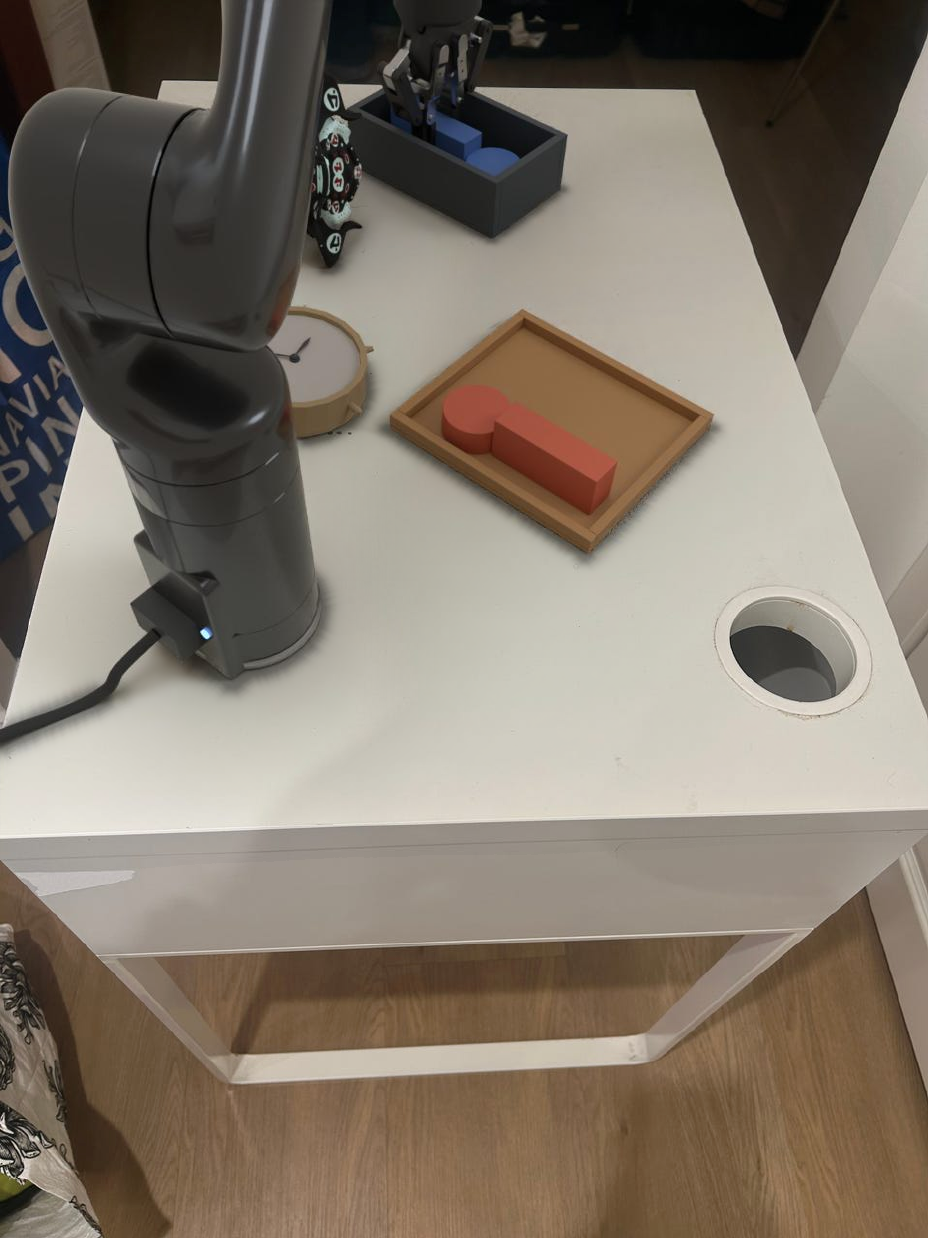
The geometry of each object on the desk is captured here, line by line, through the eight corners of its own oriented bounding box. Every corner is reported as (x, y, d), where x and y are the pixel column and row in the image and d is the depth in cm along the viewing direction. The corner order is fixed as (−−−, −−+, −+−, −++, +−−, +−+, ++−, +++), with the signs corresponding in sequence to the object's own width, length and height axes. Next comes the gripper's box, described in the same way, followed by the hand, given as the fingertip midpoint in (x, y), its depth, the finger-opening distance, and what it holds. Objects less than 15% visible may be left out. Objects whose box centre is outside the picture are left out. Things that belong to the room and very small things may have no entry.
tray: (587, 554, 68) (590, 541, 67) (389, 427, 74) (389, 414, 73) (709, 427, 76) (714, 413, 75) (520, 321, 82) (522, 308, 81)
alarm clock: (362, 417, 71) (152, 374, 69) (354, 463, 75) (154, 423, 73) (379, 317, 77) (187, 274, 75) (370, 363, 81) (188, 324, 79)
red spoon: (578, 526, 69) (585, 492, 66) (427, 431, 74) (428, 396, 71) (619, 485, 72) (628, 450, 69) (470, 395, 76) (472, 359, 73)
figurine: (197, 260, 85) (322, 280, 79) (181, 62, 78) (318, 69, 72) (273, 247, 93) (392, 265, 87) (265, 67, 86) (395, 74, 80)
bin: (492, 238, 88) (496, 183, 84) (349, 163, 94) (346, 107, 90) (560, 188, 93) (568, 134, 89) (421, 120, 99) (421, 65, 94)
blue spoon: (417, 127, 96) (417, 91, 93) (530, 184, 92) (534, 147, 89) (382, 149, 94) (381, 112, 91) (497, 208, 89) (499, 171, 86)
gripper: (457, -94, 83) (451, 107, 98) (345, -42, 77) (356, 165, 91) (527, -67, 81) (510, 135, 95) (417, -11, 74) (416, 197, 89)
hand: (434, 149), depth 93 cm, fingers closed on blue spoon, 2 cm apart
